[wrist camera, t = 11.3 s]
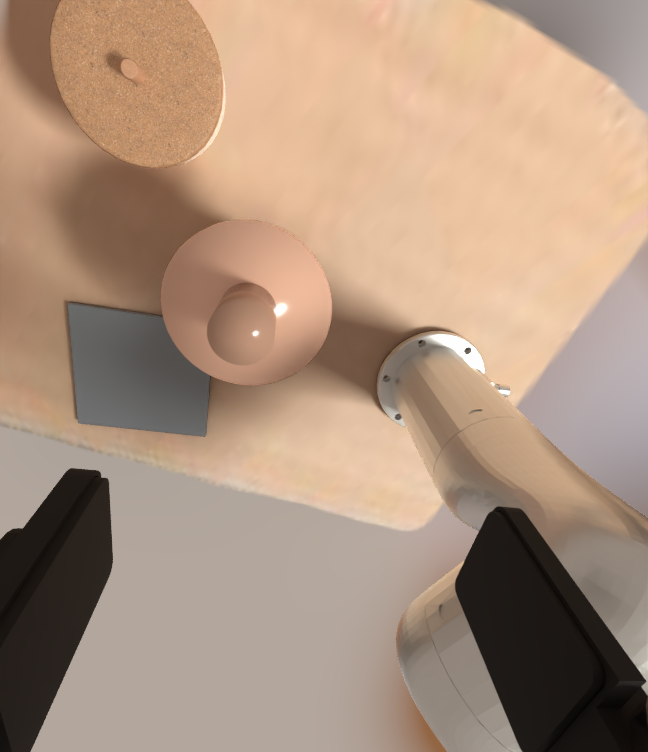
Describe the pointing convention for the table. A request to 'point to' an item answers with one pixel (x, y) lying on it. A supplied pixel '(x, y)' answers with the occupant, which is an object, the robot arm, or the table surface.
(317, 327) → the lid
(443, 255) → the table surface
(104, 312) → the mat
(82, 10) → the lidded jar
